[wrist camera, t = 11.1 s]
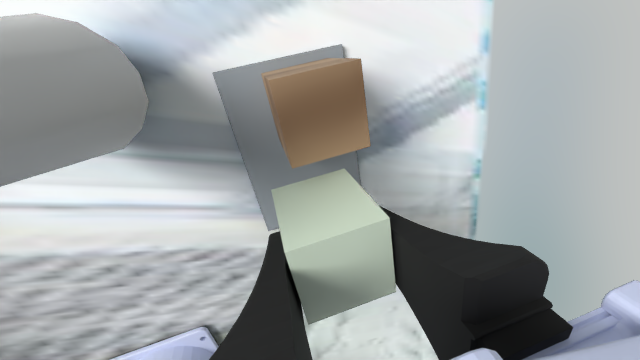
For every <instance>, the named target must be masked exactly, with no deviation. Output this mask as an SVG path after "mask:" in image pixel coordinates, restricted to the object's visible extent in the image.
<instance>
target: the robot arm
mask: <svg viewBox="0 0 640 360" xmlns="http://www.w3.org/2000/svg"><path fill="white" fill-rule="evenodd" d="M378 206H379V205H378ZM379 207H380V208H381V209H382V210H383V211H384V212H385V213H386V214H387V216H388V217H389V218H390V227H391V239H392V250H393V262H394V273H395V283H396V285H397V286H398V287H399V289H400V290H401V292H402V293H403V295H404V297H405V298H406V300H407V302H408V304H409V305H410V307H411V309H412V310H413V312H414V314H415V316H416V318H417V319H418V321H419V323H420V325H421V327H422V328H423V330H424V332H425V334H426V336H427V338H428V339H429V341H430V343H431V345H432V347H433V349H434V351H435V353H436V355H437V356H438V358H439V360H640V282H639V281H637V280H636V281H635V280H633V281H631V282H629V283H626V284H624V285H622V286H619V287H617V288H615V289H613V290H611V291H609V292H608V293H607V294H606V295H605V297H604V298H603V300H602V303H601V307H600V308H598V309H596V310H593V311H591V312H589V313H586V314H584V315H582V316H580V317H577V318H575V319H573V320H571V321H568V322H566V321H565V320H564V319H563V318H561V317H560V316H559V315H558V314H556V313H555V312H554V311H553V310H552V309H551V308H552V306H553V305H552V303H551V302H550V301H549V300H547V299H546V298H545V297H544V296H543V294H544V290H545V287H546V284H547V281H548V276H549V271H548V267H547V264H546V263H545V262H544V261H543V260H541V259H539V258H538V257H537V256H535V255H534V254H532V253H531V252H529V251H528V250H526V249H525V248H523V247H521V246H513V245H504V244H495V243H488V242H482V241H476V240H471V239H466V238H462V237H458V236H454V235H450V234H446V233H442V232H439V231H436V230H433V229H430V228H427V227H424V226H422V225H419V224H417V223H414V222H412V221H410V220H407V219H405V218H403V217H401V216H399V215H397V214H395V213H393V212H391V211H389V210H387V209H385V208H383V207H381V206H379ZM110 360H312V356H311V352H310V348H309V343H308V339H307V335H306V331H305V326H304V320H303V313H302V306H301V301H300V298H299V295H298V292H297V289H296V286H295V283H294V280H293V277H292V274H291V271H290V268H289V265H288V262H287V259H286V256H285V253H284V248H283V243H282V238H281V234H280V231H279V232H276V233H273V234H270V236H269V240H268V246H267V250H266V254H265V258H264V261H263V265H262V268H261V271H260V273H259V276H258V279H257V281H256V284H255V286H254V289H253V291H252V293H251V295H250V297H249V299H248V301H247V303H246V305H245V307H244V309H243V310H242V312H241V314H240V316H239V317H238V319H237V321H236V322H235V324H234V325H233V327H232V328H231V330H230V331H229V333H228V334H227V336H226V337H225V339H224V340H223V342H222V343H221V345H220V346H218V345H217V343H216V341H215V340H214V338H213V337H212V335H211V333H210V332H209V330H208V329H207V328H206V327H199V328H196V329H193V330H191V331H188V332H185V333H182V334H180V335H177V336H174V337H171V338H168V339H166V340H163V341H160V342H157V343H154V344H152V345H149V346H146V347H143V348H140V349H138V350H135V351H132V352H129V353H126V354H124V355H121V356H118V357H115V358H112V359H110Z"/></svg>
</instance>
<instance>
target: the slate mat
mask: <svg viewBox="0 0 640 360" xmlns="http://www.w3.org/2000/svg"><path fill="white" fill-rule="evenodd" d="M326 58H344V57H343V49H342V44H340V45H336V46H331V47H327V48H322V49H318V50H313V51H309V52H304V53H300V54H295V55H291V56H286V57H282V58H277V59H273V60H268V61H264V62H259V63H255V64H250V65H245V66H241V67H236V68H232V69H227V70H223V71H218V72H214V73H213V76H214V79H215V82H216V84H217V87H218V90H219V93H220V96H221V99H222V101H223V104H224V107H225V110H226V113H227V115H228V118H229V121H230V124H231V127H232V130H233V132H234V135H235V138H236V141H237V144H238V147H239V149H240V152H241V155H242V158H243V161H244V163H245V166H246V169H247V172H248V175H249V178H250V180H251V183H252V186H253V189H254V192H255V194H256V197H257V200H258V203H259V206H260V209H261V211H262V214H263V217H264V220H265V223H266V225H267V228H268V231H270V230H274V229H277V228H279V224H278V219H277V215H276V210H275V205H274V200H273V196H272V191H271V190H272V189H276V188H279V187H283V186H286V185H289V184H293V183H296V182H300V181H303V180H306V179H310V178H313V177H317V176H320V175H324V174H327V173H330V172H334V171H337V170H341V169H345V170H346V171H347V172H348V173H349V174H350V175H351V176H352V177H353V178H354V179H355V181H356V182H357V183H358V184H359V185H360V186H361V182H360V174H359V167H358V160H357V152H356V151H352V152H349V153H345V154H342V155H338V156H335V157H331V158H328V159H325V160H321V161H318V162H314V163H311V164H307V165H304V166H300V167H297V168H293V169H292V167H291V165H290V163H289V160H288V158H287V156H286V154H285V151H284V149H283V147H282V145H281V142H280V140H279V137H278V133H277V130H276V126H275V122H274V119H273V115H272V112H271V108H270V104H269V101H268V97H267V93H266V90H265V86H264V83H263V79H262V75H261V73H265V72H269V71H273V70H278V69H282V68H286V67H291V66H295V65H299V64H304V63H308V62H312V61H317V60H321V59H326Z"/></svg>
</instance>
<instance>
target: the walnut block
mask: <svg viewBox="0 0 640 360" xmlns="http://www.w3.org/2000/svg"><path fill="white" fill-rule="evenodd" d="M261 75H262V79H263V83H264V86H265V90H266V93H267V97H268V101H269V104H270V108H271V112H272V115H273V119H274V122H275V126H276V130H277V133H278V137H279V140H280V142H281V145H282V147H283V149H284V151H285V154H286V156H287V158H288V160H289V163H290V165H291V167H292V169H293V168H297V167H300V166H304V165H307V164H311V163H314V162H318V161H321V160H325V159H328V158H331V157H335V156H338V155H342V154H345V153H349V152H352V151H356V150H359V149H363V148H366V147H370V137H369V128H368V119H367V110H366V101H365V92H364V83H363V73H362V64H361V59H354V58H326V59H321V60H317V61H312V62H308V63H304V64H299V65H295V66H291V67H286V68H282V69H278V70H273V71H269V72H265V73H261Z"/></svg>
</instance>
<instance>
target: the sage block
mask: <svg viewBox="0 0 640 360" xmlns="http://www.w3.org/2000/svg"><path fill="white" fill-rule="evenodd" d="M271 191H272V196H273V200H274V205H275V210H276V215H277V219H278V224H279V229H280V234H281V238H282V243H283V248H284V253H285V256H286V259H287V262H288V265H289V268H290V271H291V274H292V277H293V280H294V283H295V286H296V289H297V292H298V295H299V298H300V301H301V304H302V307H303V310H304V313H305V316H306V319H307V322H308V325H309V324H312V323H314V322H317V321H320V320H322V319H325V318H328V317H330V316H333V315H336V314H338V313H341V312H344V311H346V310H349V309H352V308H354V307H357V306H360V305H362V304H365V303H368V302H370V301H373V300H376V299H378V298H381V297H384V296H386V295H389V294H392V293H394V292H396V285H395V273H394V262H393V250H392V239H391V227H390V218H389V217H388V216H387V214H386V213H385V212H384V211H383V210H382V209H381V208H380V207H379V206H378V205H377V203H376V202H375V201H374V200H373V199H372V198H371V197H370V196H369V195H368V194H367V193H366V191H365V190H364V189H363V188H362V187H361V186H360V185H359V184H358V183H357V182H356V181H355V179H354V178H353V177H352V176H351V175H350V174H349V173H348V172H347V171H346V170H345V169H341V170H337V171H334V172H330V173H327V174H324V175H320V176H317V177H313V178H310V179H306V180H303V181H300V182H296V183H293V184H289V185H286V186H283V187H279V188H276V189H272V190H271Z"/></svg>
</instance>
